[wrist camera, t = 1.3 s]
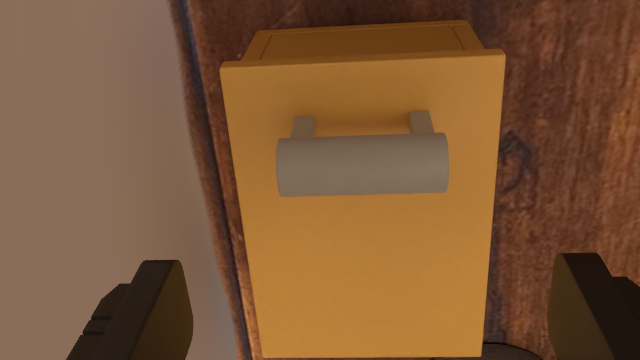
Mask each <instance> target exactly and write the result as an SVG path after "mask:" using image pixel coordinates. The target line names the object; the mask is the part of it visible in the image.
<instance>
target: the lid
mask: <svg viewBox="0 0 640 360" xmlns="http://www.w3.org/2000/svg"><path fill="white" fill-rule="evenodd" d="M505 60H506V55H505V54H504V52H503V51H502V50H501V49H480V50H458V51H437V52H416V53H395V54H373V55H352V56H331V57H310V58H288V59H267V60H246V61H225V62H223V64H222V65H221V67H220V68H219V72H220V78H221V85H222V92H223V98H224V105H225V112H226V118H227V125H228V131H229V138H230V145H231V151H232V158H233V165H234V171H235V178H236V185H237V191H238V198H239V205H240V211H241V218H242V224H243V231H244V238H245V244H246V251H247V258H248V264H249V271H250V278H251V284H252V291H253V298H254V304H255V311H256V317H257V324H258V331H259V337H260V344H261V351H262V357H263V358H343V357H481V354H482V342H483V329H484V317H485V305H486V293H487V280H488V268H489V256H490V244H491V231H492V219H493V207H494V195H495V182H496V170H497V158H498V146H499V133H500V121H501V109H502V97H503V84H504V72H505Z"/></svg>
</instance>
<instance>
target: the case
mask: <svg viewBox="0 0 640 360" xmlns="http://www.w3.org/2000/svg"><path fill="white" fill-rule="evenodd" d="M480 49H484V47H483V46H482V44H481V42H480V41H479V39H478V38H477V36H476V34H475V33H474V31H473V30H472V28H471V27H470V25H469V23H468V21H467V20H448V21H428V22H409V23H389V24H370V25H350V26H331V27H311V28H292V29H272V30H258V31H257V33H256V34H255V36H254V38H253V40H252V41H251V43H250V45H249V46H248V48H247V50H246V52H245V53H244V55H243V57H242V58H241V60H240V61H246V60H267V59H288V58H310V57H331V56H352V55H373V54H395V53H416V52H437V51H458V50H480Z"/></svg>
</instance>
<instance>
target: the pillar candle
mask: <svg viewBox="0 0 640 360" xmlns="http://www.w3.org/2000/svg"><path fill="white" fill-rule="evenodd" d="M434 360H542V359H540V358H539V357H537V356H536V355H534V354H532V353H530V352H528V351H525V350H522V349H519V348H515V347H512V346H508V345H502V344H482V354H481V357H437V358H435V359H434Z"/></svg>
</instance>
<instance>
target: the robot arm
mask: <svg viewBox="0 0 640 360" xmlns="http://www.w3.org/2000/svg"><path fill="white" fill-rule="evenodd" d="M547 322H548V331H549V336H550V340H551V343H552V345H553V348H554V350H555V353H556V355H557V358H558V360H640V287H639V286H638V285H636V284H635V283H634V282H632V281H631V280H630V279H628V278H627V277H612V276H611V274H610V272H609V271H608V269H607V267H606V265H605V264H604V262H603V260H602V259H601V257H600V256H599V255H598V254H597V253H559V254H557V256H556V258H555V263H554V269H553V276H552V283H551V290H550V297H549V304H548V312H547ZM192 335H193V314H192V309H191V305H190V300H189V295H188V291H187V286H186V281H185V277H184V272H183V268H182V265H181V262H180V261H179V260H145V261H143V262H142V263H141V265H140V267H139V269H138V270H137V272H136V274H135V276H134V278H133V280H132V282H131V284H119V285H118V286H117V287H115V288H114V289H113V290H112V291H111V292H110V293H108V294H107V295H106V296H105V297H104V298H102V299H101V301H100V303H99V305H98V306H97V308H96V310H95V311H94V313H93V315H92V317H91V320H89V322H88V323H87V325H86V327H85V328H84V330H83V335H80V337H79V339H78V341H77V342H76V344H75V345H74V347H73V349H72V351H71V352H70V354H69V356H68V357H67V359H66V360H185V358H186V355H187V353H188V349H189V347H190V344H191V340H192Z"/></svg>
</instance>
